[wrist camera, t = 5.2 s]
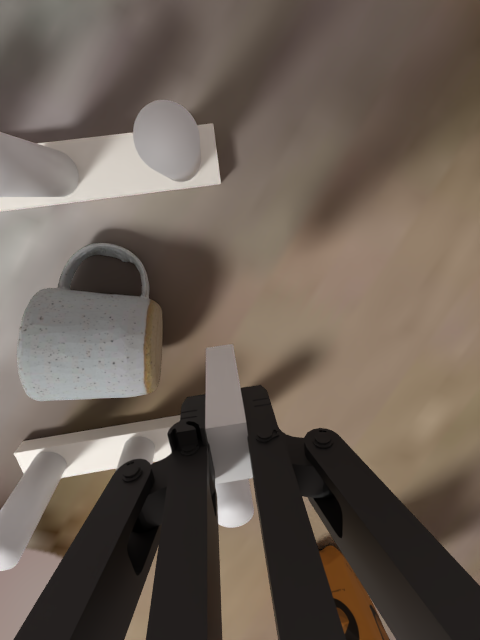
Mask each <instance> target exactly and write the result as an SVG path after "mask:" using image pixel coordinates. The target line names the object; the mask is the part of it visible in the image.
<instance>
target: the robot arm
mask: <svg viewBox="0 0 480 640" xmlns="http://www.w3.org/2000/svg"><path fill="white" fill-rule="evenodd" d="M167 435H168V439H169V443H170V447H171V451H172V453H171V454H170V455H168V456H167V457H166V458H164V459H162V460H160V461H158V462H155V463H153V464H151V465H150V463H149V462H148V461H147V460H145V459H133V460H131V461H128V462H126V463H124V464H123V465H122V466H120V467H119V468H118V469H117V471H116V472H115V473H114V475H113V476H112V478H111V480H110V481H109V483H108V485H107V486H106V488H105V490H104V491H103V493H102V495H101V496H100V498H99V500H98V501H97V503H96V504H95V506H94V508H93V509H92V511H91V513H90V514H89V516H88V518H87V519H86V521H85V523H84V524H83V526H82V528H81V529H80V531H79V533H78V534H77V536H76V537H75V539H74V541H73V542H72V544H71V546H70V547H69V549H68V551H67V552H66V554H65V556H64V557H63V559H62V561H61V562H60V564H59V566H58V568H57V569H56V570H55V572H54V574H53V576H52V577H51V579H50V580H49V582H48V584H47V585H46V587H45V589H44V590H43V592H42V594H41V595H40V597H39V598H38V600H37V602H36V603H35V605H34V607H33V609H32V610H31V612H30V613H29V615H28V617H27V618H26V620H25V622H24V623H23V625H22V627H21V629H20V630H19V632H18V633H17V635H16V637H15V638H14V640H124V639H125V636H126V633H127V630H128V628H129V625H130V622H131V619H132V617H133V614H134V611H135V608H136V606H137V603H138V600H139V597H140V595H141V592H142V589H143V586H144V584H145V581H146V578H147V575H148V573H149V570H150V567H151V564H152V562H153V559H154V556H155V553H156V551H157V548H158V545H159V548H158V555H157V562H156V570H155V577H154V584H153V592H152V599H151V606H150V613H149V621H148V628H147V635H146V640H222V619H221V590H220V562H219V533H218V504H217V493H216V488H215V481H216V484H220V483H226V482H232V481H238V480H244V479H250V478H253V481H254V488H255V495H256V502H257V507H258V514H259V520H260V526H261V533H262V539H263V546H264V552H265V558H266V565H267V571H268V578H269V584H270V590H271V597H272V603H273V609H274V616H275V622H276V629H277V635H278V640H346V637H345V634H344V631H343V627H342V624H341V621H340V618H339V615H338V611H337V608H336V605H335V602H334V598H333V595H332V592H331V589H330V585H329V582H328V579H327V576H326V573H325V569H324V566H323V563H322V560H321V556H320V553H319V550H318V547H317V544H316V540H315V537H314V534H313V531H312V527H311V524H310V521H309V518H308V514H307V511H306V508H305V505H304V502H303V498H302V496H305V497H308V499H309V501H310V503H311V504H312V506H313V507H314V509H315V511H316V512H317V514H318V515H319V517H320V519H321V520H322V522H323V523H324V525H325V527H326V528H327V530H328V531H329V533H330V534H331V536H332V538H333V539H334V541H335V542H336V544H337V546H338V547H339V549H340V550H341V552H342V554H343V555H344V557H345V558H346V560H347V562H348V563H349V565H350V566H351V568H352V569H353V571H354V573H355V574H356V576H357V577H358V579H359V581H360V582H361V584H362V585H363V587H364V589H365V590H366V592H367V593H368V595H369V597H370V598H371V600H372V601H373V603H374V605H375V606H376V608H377V609H378V611H379V612H380V614H381V616H382V617H383V619H384V620H385V622H386V624H387V625H388V627H389V628H390V630H391V632H392V633H393V635H394V636H395V638H396V640H480V586H479V585H478V584H477V582H476V581H475V580H474V579H473V578H472V577H471V576H470V575H469V574H468V573H467V572H466V571H465V570H464V569H463V568H462V566H461V565H460V564H459V563H458V562H457V561H456V560H455V559H454V558H453V557H452V556H451V555H450V554H449V553H448V551H447V550H446V549H445V548H444V547H443V546H442V545H441V544H440V543H439V542H438V541H437V540H436V539H435V538H434V537H433V535H432V534H431V533H430V532H429V531H428V530H427V529H426V528H425V527H424V526H423V525H422V524H421V523H420V522H419V521H418V519H417V518H416V517H415V516H414V515H413V514H412V513H411V512H410V511H409V510H408V509H407V508H406V507H405V506H404V504H403V503H402V502H401V501H400V500H399V499H398V498H397V497H396V496H395V495H394V494H393V493H392V492H391V491H390V490H389V488H388V487H387V486H386V485H385V484H384V483H383V482H382V481H381V480H380V479H379V478H378V477H377V476H376V475H375V474H374V472H373V471H372V470H371V469H370V468H369V467H368V466H367V465H366V464H365V463H364V462H363V461H362V460H361V459H360V457H359V456H358V455H357V454H356V453H355V452H354V451H353V450H352V449H351V448H350V447H349V446H348V445H347V444H346V443H345V441H344V440H343V439H342V438H341V437H340V436H339V435H338V434H336V433H335V432H334V431H331V430H329V429H323V428H318V429H313V430H311V431H309V432H308V433H307V434H306V436H305V437H304V438H299V437H292V436H289V435H286V434H285V433H283V432H282V431H281V430H280V429H279V427H278V425H277V422H276V419H275V415H274V412H273V409H272V405H271V402H270V399H269V396H268V392H267V390H266V389H265V388H264V387H262V386H261V385H257V386H251V387H245V388H240V382H239V377H238V371H237V365H236V359H235V353H234V347H233V344H229V345H222V346H216V347H209V348H206V394H204V395H198V396H191V397H187V398H186V399H185V401H184V402H183V404H182V407H181V415H180V421H179V422H177V423H176V424H174V425H173V426H172V427H171V428H170V429H169V431H168V433H167Z"/></svg>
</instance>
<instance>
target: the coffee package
mask: <svg viewBox="0 0 480 640" xmlns="http://www.w3.org/2000/svg"><path fill="white" fill-rule="evenodd" d="M319 553H320V556H321V560H322V563H323V566H324V569H325V573H326V576H327V579H328V582H329V585H330V589H331V592H332V595H333V598H334V602H335V605H336V608H337V611H338V615H339V618H340V621H341V624H342V627H343V631H344V634H345V637H346V640H390V639H389V637H388V635H387V633H386V631H385V629H384V627H383V625H382V622H381V620H380V618H379V616H378V614H377V611H376V609H375V607H374V605H373V603H372V601H371V599H370V597H369V595H368V594H367V592H366V590H365V589H364V587H363V585H362V584H361V582H360V581H359V579H358V577H357V576H356V574H355V573H354V571H353V569H352V568H351V566H350V565H349V563H348V562H347V560H346V559H345V557H344V556H343V555H342V554H341V552H340V551H339V550H338V549H336V548H335V547H334V546H326V547H325V548H324V549H323V550H320V551H319Z"/></svg>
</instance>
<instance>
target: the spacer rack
mask: <svg viewBox="0 0 480 640" xmlns="http://www.w3.org/2000/svg"><path fill="white" fill-rule="evenodd" d="M219 184H221V180H220V172H219V164H218V157H217V149H216V141H215V133H214V126H213V123H211V124H202V125H197V124H196V122H195V120H194V118H193V117H192V115H191V114H190V113H189V111H188V110H187V109H185V108H184V107H183V106H182V105H180V104H178V103H176V102H174V101H170V100H156V101H153V102H151V103H149V104H147V105H146V106H145V107H143V109H142V110H141V111H140V112H139V114H138V115H137V117H136V120H135V123H134V127H133V132H132V133H123V134H115V135H106V136H97V137H88V138H80V139H71V140H62V141H54V142H45V143H33V142H30V141H27V140H24V139H21V138H18V137H15V136H11V135H8V134H5V133H2V132H0V212H4V211H12V210H20V209H28V208H36V207H44V206H52V205H60V204H68V203H76V202H84V201H92V200H100V199H107V198H115V197H123V196H131V195H139V194H147V193H155V192H163V191H171V190H179V189H187V188H195V187H203V186H211V185H219ZM179 421H180V415H177V416H171V417H165V418H159V419H153V420H147V421H141V422H135V423H129V424H123V425H117V426H111V427H105V428H99V429H93V430H87V431H81V432H75V433H69V434H63V435H56V436H50V437H44V438H38V439H32V440H26V441H22V443H21V444H20V446H19V447H18V448H17V450H16V451H15V452H14V455H15V457H16V459H17V461H18V463H19V465H20V467H21V469H22V471H23V473H24V475H23V476H22V478H21V479H20V481H19V483H18V484H17V486H16V487H15V489H14V490H13V492H12V493H11V495H10V496H9V498H8V500H7V501H6V503H5V504H4V506H3V507H2V509H1V510H0V571H4V570H8V569H11V568H13V567H14V566H15V565H17V563H18V562H19V560H20V558H21V556H22V554H23V552H24V550H25V548H26V546H27V544H28V542H29V540H30V538H31V536H32V534H33V532H34V530H35V528H36V526H37V524H38V522H39V520H40V518H41V516H42V514H43V512H44V510H45V508H46V507H47V505H48V503H49V501H50V499H51V497H52V495H53V493H54V491H55V489H56V487H57V485H58V483H59V481H60V479H61V478H63V477H69V476H75V475H80V474H86V473H92V472H98V471H104V470H109V469H115V468H117V469H118V468H119V467H120V466H122V465H123V464H124V463H126V462H128V461H131V460H133V459H145V460H147V461H148V462H149V463H150V465H151V464H152V463H153V462H155V461H160V460H162V459H164V458H166V457H167V456H168V455H170V454H171V453H172V451H171V447H170V443H169V439H168V435H167V433H168V431H169V429H170V428H171V427H172V426H173V425H174V424H176V423H177V422H179ZM117 469H116V471H117ZM215 488H216V493H217V504H218V524H220V525H221V526H224V527H238V526H241V525H244V524H245V523H247V522H248V521H249V520H250V519H251V518H252V516H253V513H254V508H253V502H252V496H251V490H250V484H249V479H244V480H238V481H232V482H226V483H220V484H216V481H215Z"/></svg>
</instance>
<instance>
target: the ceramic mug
mask: <svg viewBox="0 0 480 640" xmlns="http://www.w3.org/2000/svg"><path fill="white" fill-rule="evenodd" d="M92 255H104V256H111V257H115V258H119V259H121V260H122V261H123V262H128V261H129V262H131V263H134V264H135V265H136V267H137V269H138V271H139V272H140V274H141V282H142V294H141V296H128V295H118V294H112V295H111V294H102V293H94V292H86V291H76V290H70V285H71V281H72V278H73V276H74V273H75V272H76V270H77V268H78V266H79V265H80V264H81V263H82V262H83V261H84V260H85V259H86V258H88V257H89V256H92ZM149 291H150V289H149V282H148V276H147V273H146V270H145V268H144V266H143V264H142V262H141V261H140V260H139V259H138V258H137V256H136V255H134V254H133V253H132V252H130V251H129V250H128V249H126V248H123V247H121V246H118V245H114V244H109V243H93V244H90V245H87V246H85V247H83V248H81V249H80V250H78V251H77V252H76V253H75V254H74V255H73V256H72V257H71V258H70V259H69V260H68V262H67V264H66V266H65V267H64V269H63V271H62V274H61V276H60V280H59V283H58V287H57V288H48V289H43V290H40V291H39V292H37V293H36V294H35V295H34V296H33V297H32V299H31V300H30V302H29V304H28V306H27V308H26V310H25V312H24V315H23V318H22V321H21V325H20V329H19V338H18V345H17V363H18V372H19V377H20V380H21V384H22V386H23V388H24V390H25V392H26V394H27V395H28V396H29V397H30V398H32V399H34V400H37V401H51V400H75V399H96V398H124V397H135V396H140V395H145V394H149V393H151V392H153V391H154V390H155V389H156V388H157V387H158V384H159V380H160V373H161V360H162V340H163V319H162V309H161V307H160V306H159V305H158V304H157V303H156V302H155V301H153V300H151V299H149Z"/></svg>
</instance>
